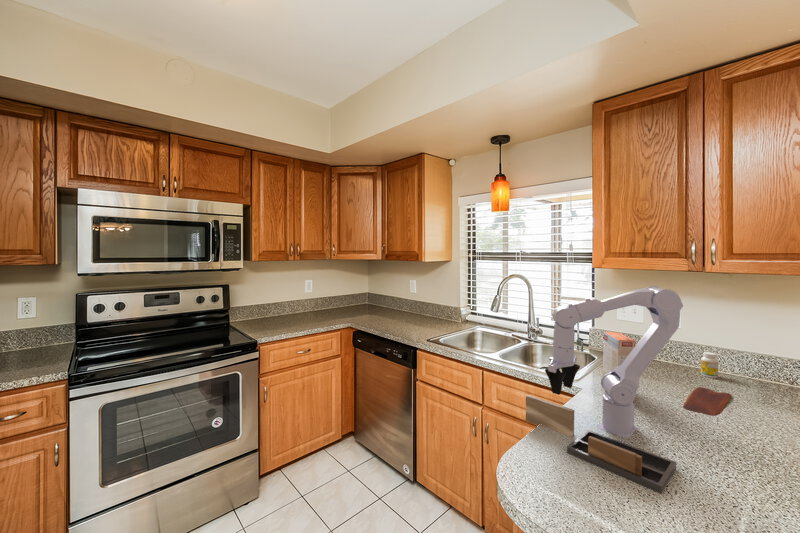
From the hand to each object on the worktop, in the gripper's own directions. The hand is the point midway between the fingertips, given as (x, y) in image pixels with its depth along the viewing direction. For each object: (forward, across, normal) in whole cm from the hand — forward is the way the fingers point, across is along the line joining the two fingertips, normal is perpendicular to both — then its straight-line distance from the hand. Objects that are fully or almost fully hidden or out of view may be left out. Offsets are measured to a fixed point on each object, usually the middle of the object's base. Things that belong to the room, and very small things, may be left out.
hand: (562, 390), depth 105 cm
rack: (+10, +9, +18) cm, 23 cm away
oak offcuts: (+10, +12, +18) cm, 24 cm away
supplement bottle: (+9, -86, +22) cm, 90 cm away
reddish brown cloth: (+10, -54, +26) cm, 61 cm away
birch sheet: (+11, +6, -1) cm, 12 cm away
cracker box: (+10, -41, +2) cm, 43 cm away
